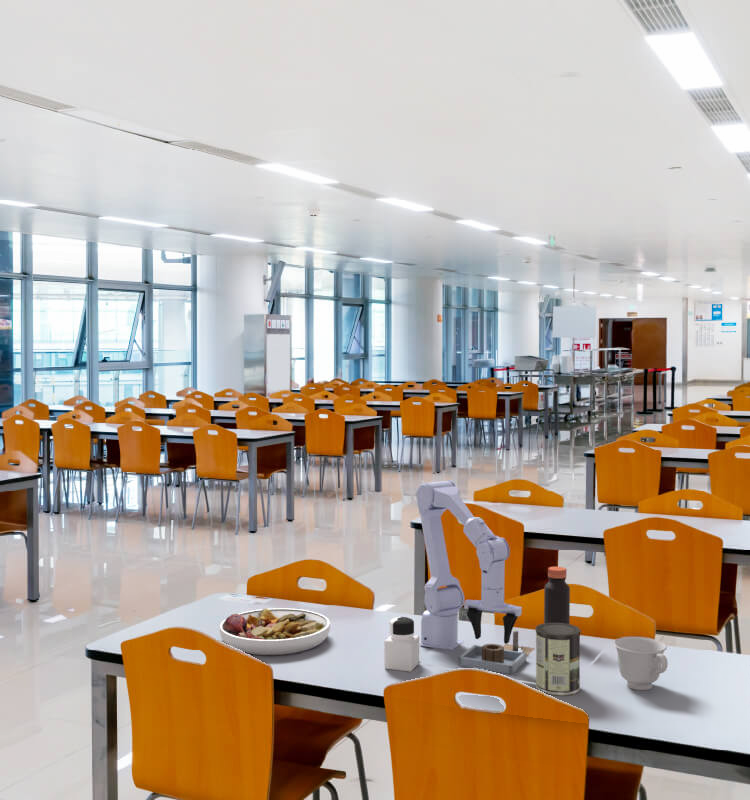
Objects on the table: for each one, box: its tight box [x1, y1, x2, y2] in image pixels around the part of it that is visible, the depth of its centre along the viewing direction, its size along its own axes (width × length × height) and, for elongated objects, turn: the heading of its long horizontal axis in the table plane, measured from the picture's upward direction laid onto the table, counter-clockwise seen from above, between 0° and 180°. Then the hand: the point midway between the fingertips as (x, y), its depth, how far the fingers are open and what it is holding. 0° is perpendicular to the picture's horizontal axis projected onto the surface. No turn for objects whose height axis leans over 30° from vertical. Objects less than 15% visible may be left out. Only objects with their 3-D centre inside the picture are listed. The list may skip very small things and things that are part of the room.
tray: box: [458, 644, 527, 675], centre depth 230 cm, size 14×11×2 cm
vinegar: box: [543, 566, 571, 624], centre depth 248 cm, size 7×7×20 cm
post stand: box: [502, 630, 536, 657], centre depth 239 cm, size 8×8×6 cm
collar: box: [481, 643, 504, 663], centre depth 230 cm, size 5×5×4 cm
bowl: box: [219, 607, 331, 656], centre depth 250 cm, size 30×30×8 cm
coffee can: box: [535, 622, 581, 696], centre depth 214 cm, size 10×10×14 cm
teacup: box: [613, 636, 668, 691], centre depth 213 cm, size 12×15×10 cm
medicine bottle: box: [383, 616, 420, 672], centre depth 229 cm, size 7×7×12 cm
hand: (492, 640), depth 230 cm, fingers open, 7 cm apart
